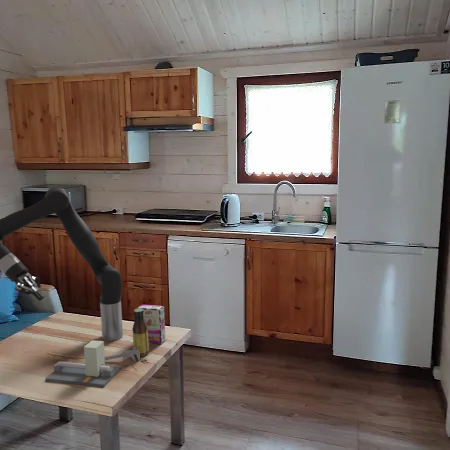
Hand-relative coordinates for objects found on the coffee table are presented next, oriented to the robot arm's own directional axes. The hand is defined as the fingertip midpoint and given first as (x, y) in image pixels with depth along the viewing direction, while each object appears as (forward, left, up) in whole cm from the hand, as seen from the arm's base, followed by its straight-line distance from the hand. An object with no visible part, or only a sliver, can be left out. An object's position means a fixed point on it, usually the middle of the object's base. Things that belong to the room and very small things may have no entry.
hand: (42, 298), depth 178 cm
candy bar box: (-29, +34, -28) cm, 53 cm away
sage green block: (+5, +24, -26) cm, 36 cm away
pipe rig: (+5, +19, -28) cm, 34 cm away
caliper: (-8, +26, -28) cm, 39 cm away
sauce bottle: (-16, +34, -28) cm, 47 cm away
